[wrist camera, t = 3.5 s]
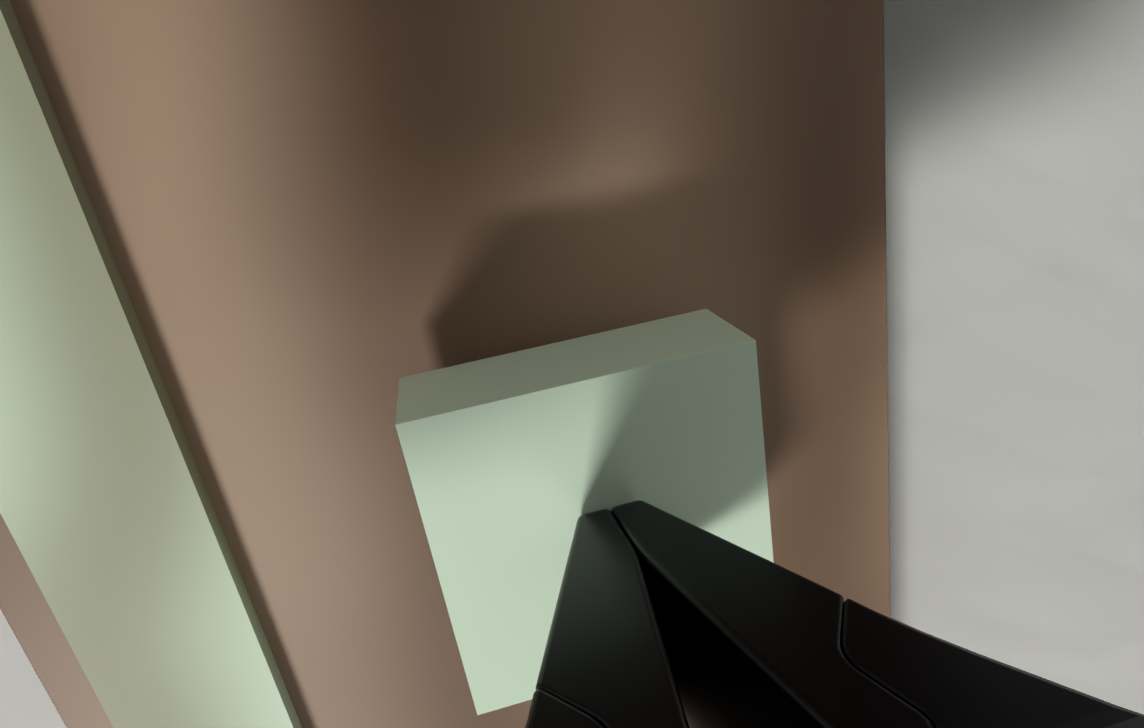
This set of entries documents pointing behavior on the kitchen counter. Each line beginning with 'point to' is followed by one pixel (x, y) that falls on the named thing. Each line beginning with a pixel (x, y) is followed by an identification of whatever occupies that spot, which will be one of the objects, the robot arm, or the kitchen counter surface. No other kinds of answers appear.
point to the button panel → (392, 310)
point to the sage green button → (575, 469)
